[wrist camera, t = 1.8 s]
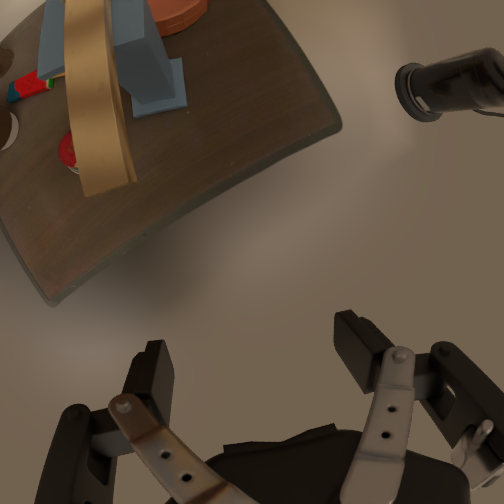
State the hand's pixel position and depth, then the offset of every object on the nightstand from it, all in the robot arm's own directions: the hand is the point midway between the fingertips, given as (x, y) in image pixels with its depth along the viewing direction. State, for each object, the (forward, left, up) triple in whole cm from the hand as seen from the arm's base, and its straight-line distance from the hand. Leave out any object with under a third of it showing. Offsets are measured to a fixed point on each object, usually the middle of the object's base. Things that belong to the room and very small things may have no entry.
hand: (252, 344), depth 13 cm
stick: (+2, -18, -4) cm, 18 cm away
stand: (+1, -23, -32) cm, 39 cm away
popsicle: (+19, -37, -32) cm, 52 cm away
